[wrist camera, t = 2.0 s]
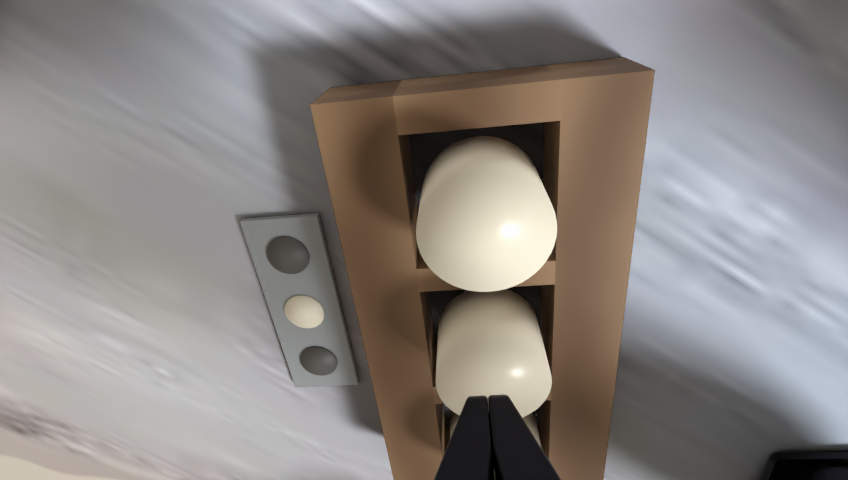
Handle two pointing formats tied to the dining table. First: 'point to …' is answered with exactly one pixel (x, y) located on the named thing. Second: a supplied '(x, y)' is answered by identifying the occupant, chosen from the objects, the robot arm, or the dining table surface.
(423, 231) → the button
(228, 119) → the dining table surface
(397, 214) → the wooden compartment tray
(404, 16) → the dining table surface
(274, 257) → the card
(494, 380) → the button
